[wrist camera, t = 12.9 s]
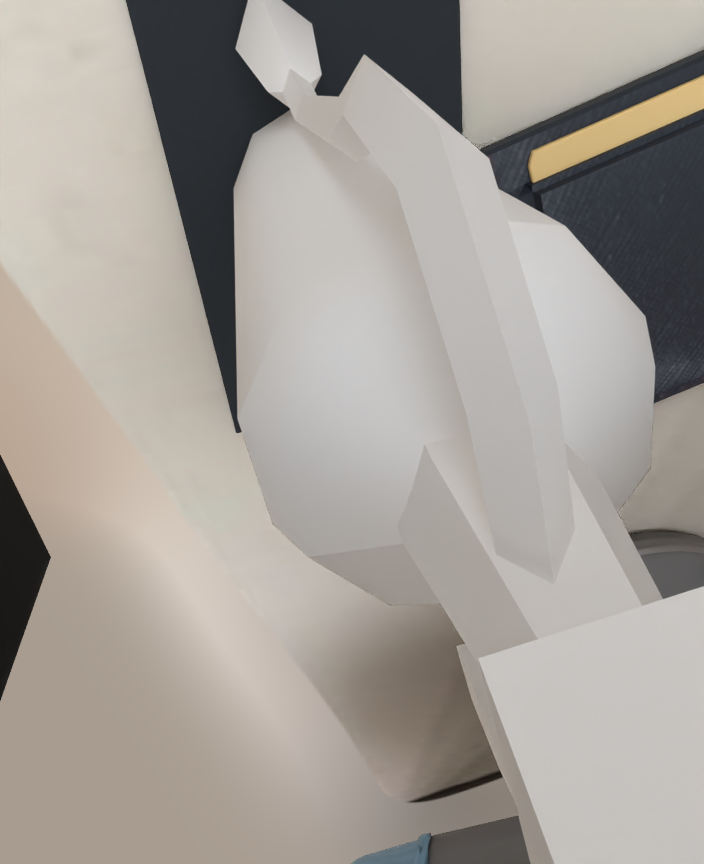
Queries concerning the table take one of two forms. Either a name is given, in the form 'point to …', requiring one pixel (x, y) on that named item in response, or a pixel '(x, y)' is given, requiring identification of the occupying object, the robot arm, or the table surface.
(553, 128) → the wallet
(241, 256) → the fire extinguisher
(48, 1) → the table surface
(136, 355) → the table surface
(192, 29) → the mat
